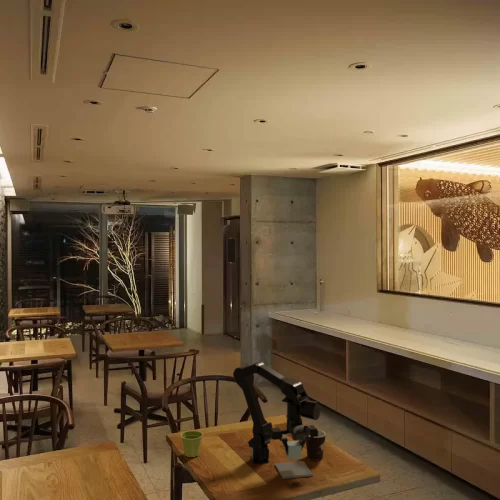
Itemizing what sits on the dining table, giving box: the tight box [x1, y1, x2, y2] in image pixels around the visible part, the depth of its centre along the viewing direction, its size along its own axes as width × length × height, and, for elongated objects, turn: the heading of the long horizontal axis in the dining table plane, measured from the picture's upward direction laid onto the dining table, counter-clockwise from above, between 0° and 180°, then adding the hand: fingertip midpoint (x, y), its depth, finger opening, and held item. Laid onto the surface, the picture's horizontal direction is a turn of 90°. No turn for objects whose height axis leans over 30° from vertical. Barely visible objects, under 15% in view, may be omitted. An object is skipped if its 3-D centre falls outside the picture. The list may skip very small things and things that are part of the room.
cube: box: [285, 440, 303, 460], centre depth 203 cm, size 5×5×5 cm
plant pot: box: [180, 430, 204, 458], centre depth 217 cm, size 9×9×9 cm
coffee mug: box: [305, 429, 327, 461], centre depth 217 cm, size 12×9×10 cm
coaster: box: [274, 460, 314, 480], centre depth 203 cm, size 12×12×1 cm
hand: (293, 453), depth 203 cm, fingers closed on cube, 5 cm apart
